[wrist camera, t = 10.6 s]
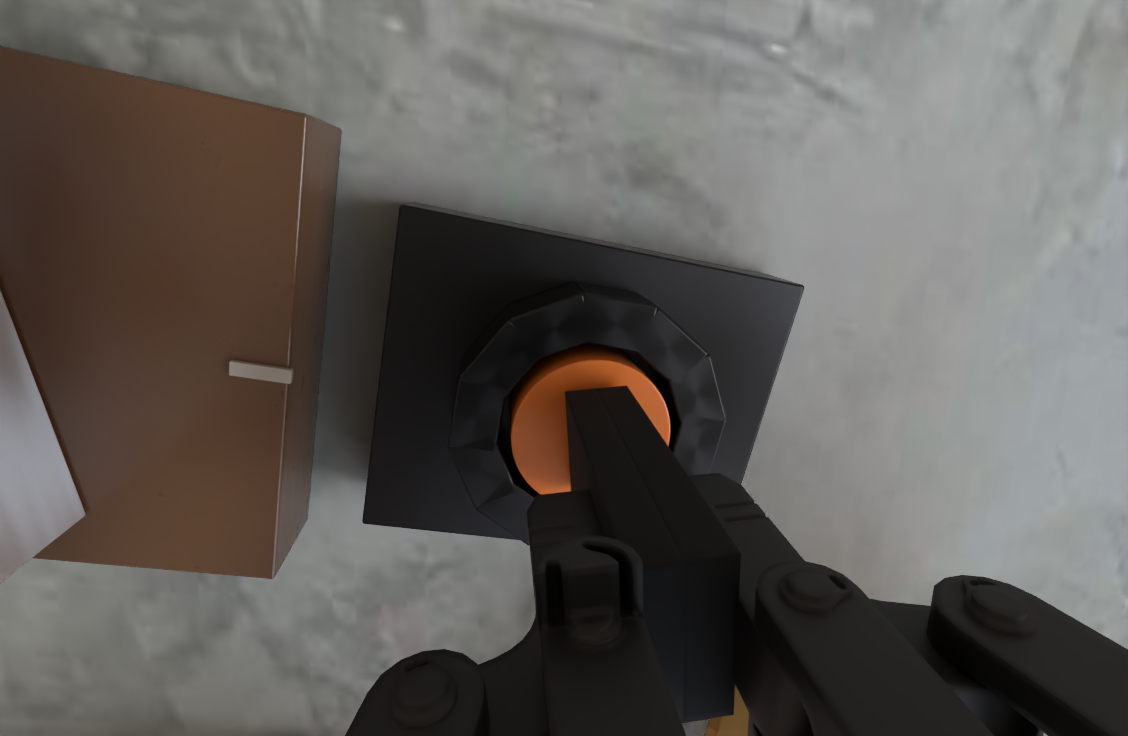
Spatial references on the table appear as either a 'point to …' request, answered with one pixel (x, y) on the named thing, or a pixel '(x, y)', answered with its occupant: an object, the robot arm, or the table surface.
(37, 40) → the table surface
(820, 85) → the table surface
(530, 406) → the button
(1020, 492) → the table surface
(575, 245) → the button housing
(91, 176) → the plate
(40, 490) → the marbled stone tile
